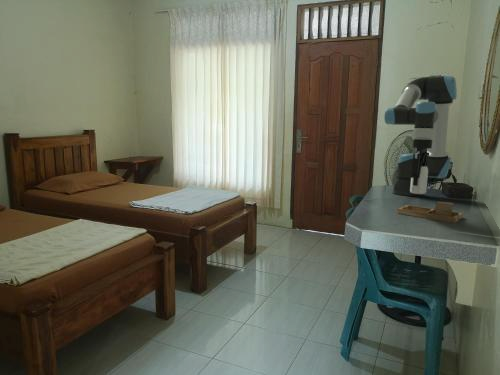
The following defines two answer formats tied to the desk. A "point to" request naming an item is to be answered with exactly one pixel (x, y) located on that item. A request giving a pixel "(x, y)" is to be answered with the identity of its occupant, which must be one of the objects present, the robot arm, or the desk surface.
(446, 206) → the walnut block
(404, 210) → the caddy
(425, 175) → the can
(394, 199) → the desk surface
